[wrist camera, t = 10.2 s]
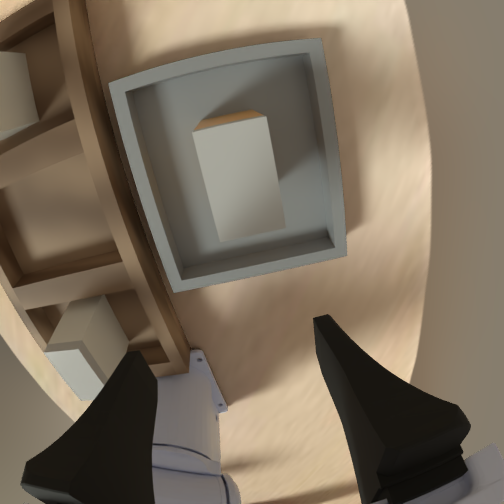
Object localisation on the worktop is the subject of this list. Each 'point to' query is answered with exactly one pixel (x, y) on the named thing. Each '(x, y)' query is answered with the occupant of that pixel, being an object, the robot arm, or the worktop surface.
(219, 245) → the tray
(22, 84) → the block
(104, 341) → the block
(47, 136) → the holder
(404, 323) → the worktop surface
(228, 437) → the worktop surface
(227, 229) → the grey and orange block
